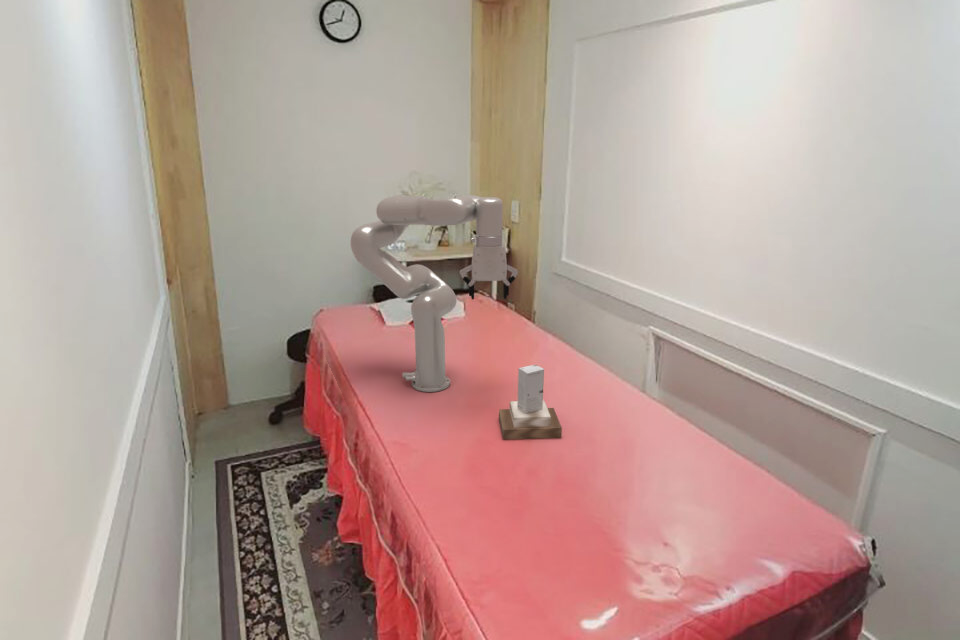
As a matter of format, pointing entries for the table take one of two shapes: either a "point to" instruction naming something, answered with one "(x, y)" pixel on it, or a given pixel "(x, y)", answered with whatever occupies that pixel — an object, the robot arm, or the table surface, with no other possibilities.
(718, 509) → the table surface
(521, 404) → the skincare box
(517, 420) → the block stack
